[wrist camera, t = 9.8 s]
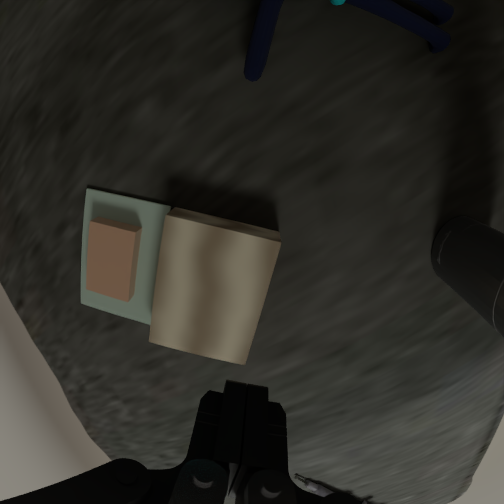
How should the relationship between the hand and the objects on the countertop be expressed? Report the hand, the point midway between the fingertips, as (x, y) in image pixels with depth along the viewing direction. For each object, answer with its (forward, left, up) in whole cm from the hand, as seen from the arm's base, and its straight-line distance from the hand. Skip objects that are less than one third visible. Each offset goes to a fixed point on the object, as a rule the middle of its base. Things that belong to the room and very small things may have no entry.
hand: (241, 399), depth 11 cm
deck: (+3, +8, -27) cm, 28 cm away
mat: (+15, +8, -27) cm, 32 cm away
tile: (+15, +8, -24) cm, 30 cm away
